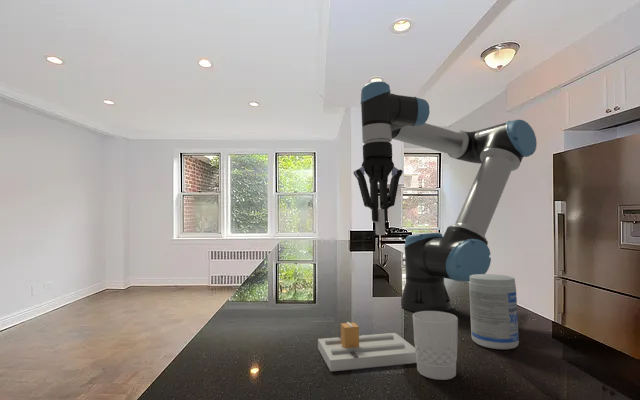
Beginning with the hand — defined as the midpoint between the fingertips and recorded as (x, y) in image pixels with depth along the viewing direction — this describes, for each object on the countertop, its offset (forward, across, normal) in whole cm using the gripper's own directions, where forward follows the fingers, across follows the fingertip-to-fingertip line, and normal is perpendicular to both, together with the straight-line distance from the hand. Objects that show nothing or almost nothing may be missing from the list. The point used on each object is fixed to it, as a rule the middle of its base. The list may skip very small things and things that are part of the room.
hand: (380, 234), depth 89 cm
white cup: (+24, 0, +25) cm, 35 cm away
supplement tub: (+25, -20, +15) cm, 35 cm away
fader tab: (+22, +13, +14) cm, 29 cm away
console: (+24, +10, +14) cm, 29 cm away
